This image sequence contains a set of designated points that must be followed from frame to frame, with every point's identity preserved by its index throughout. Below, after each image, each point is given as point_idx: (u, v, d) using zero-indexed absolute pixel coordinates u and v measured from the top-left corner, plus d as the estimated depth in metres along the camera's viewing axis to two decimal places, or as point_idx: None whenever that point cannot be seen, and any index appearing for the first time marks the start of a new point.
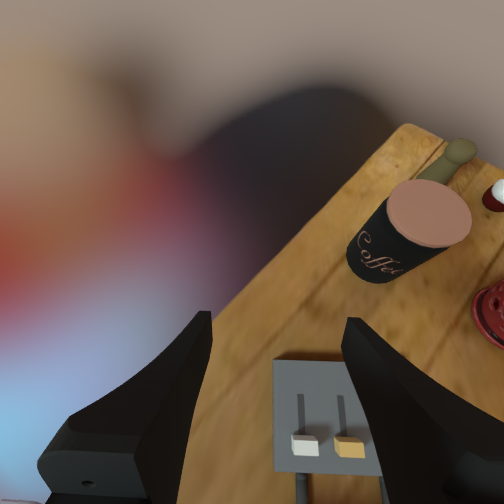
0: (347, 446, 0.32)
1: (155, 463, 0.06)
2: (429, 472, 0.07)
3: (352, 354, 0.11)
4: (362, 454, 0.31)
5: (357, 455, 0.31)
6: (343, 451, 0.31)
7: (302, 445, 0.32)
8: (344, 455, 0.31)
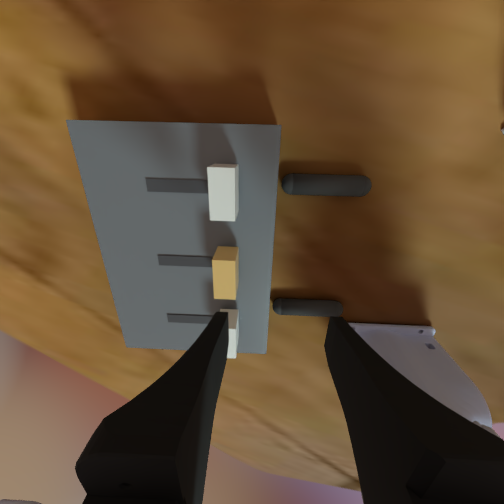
0: (219, 286, 0.17)
1: (188, 465, 0.06)
2: (396, 470, 0.07)
3: (333, 353, 0.12)
4: (230, 264, 0.16)
5: (231, 273, 0.17)
6: (227, 294, 0.17)
7: None
8: (233, 293, 0.17)
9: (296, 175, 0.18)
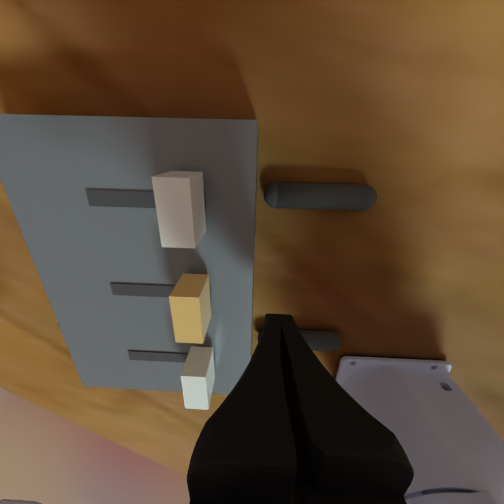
0: (181, 328, 0.13)
1: None
2: (300, 465, 0.07)
3: None
4: (192, 302, 0.13)
5: (195, 312, 0.13)
6: (192, 337, 0.14)
7: (191, 397, 0.16)
8: (199, 336, 0.14)
9: (282, 184, 0.15)
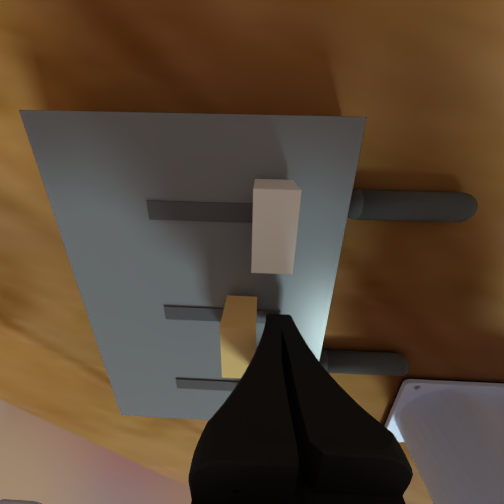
0: (230, 362, 0.11)
1: None
2: (299, 465, 0.07)
3: None
4: (247, 334, 0.11)
5: (250, 345, 0.11)
6: (242, 371, 0.12)
7: None
8: None
9: (367, 192, 0.13)
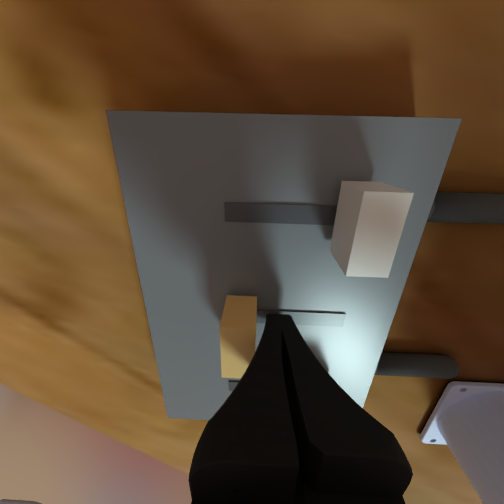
0: (230, 362, 0.11)
1: None
2: (299, 465, 0.07)
3: None
4: (247, 333, 0.10)
5: (250, 345, 0.11)
6: (241, 371, 0.12)
7: None
8: None
9: (437, 194, 0.12)
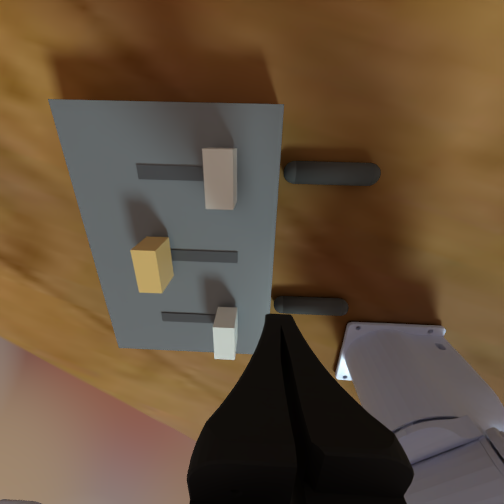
0: (143, 279, 0.16)
1: None
2: (300, 465, 0.07)
3: None
4: (150, 255, 0.15)
5: (153, 264, 0.15)
6: (152, 287, 0.16)
7: (220, 348, 0.18)
8: (158, 286, 0.16)
9: (299, 162, 0.17)
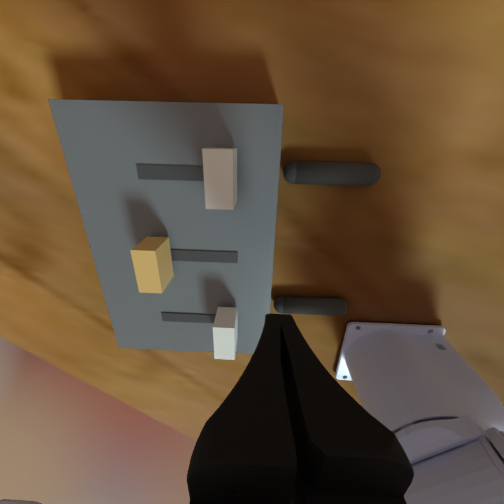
0: (143, 279, 0.16)
1: None
2: (300, 465, 0.07)
3: None
4: (150, 255, 0.15)
5: (153, 264, 0.15)
6: (152, 287, 0.16)
7: (220, 348, 0.18)
8: (158, 286, 0.16)
9: (299, 162, 0.17)
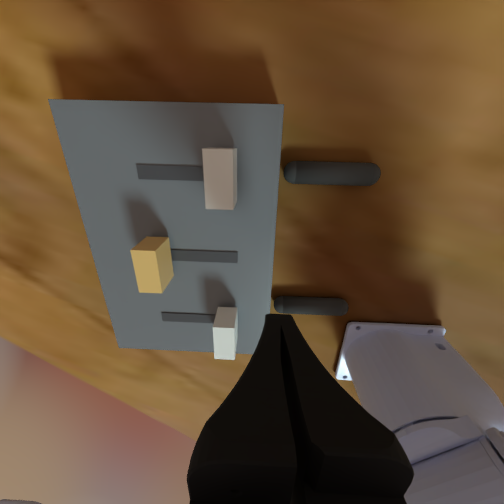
0: (143, 279, 0.16)
1: None
2: (300, 465, 0.07)
3: None
4: (150, 255, 0.15)
5: (153, 264, 0.15)
6: (152, 287, 0.16)
7: (220, 348, 0.18)
8: (158, 286, 0.16)
9: (299, 162, 0.17)
